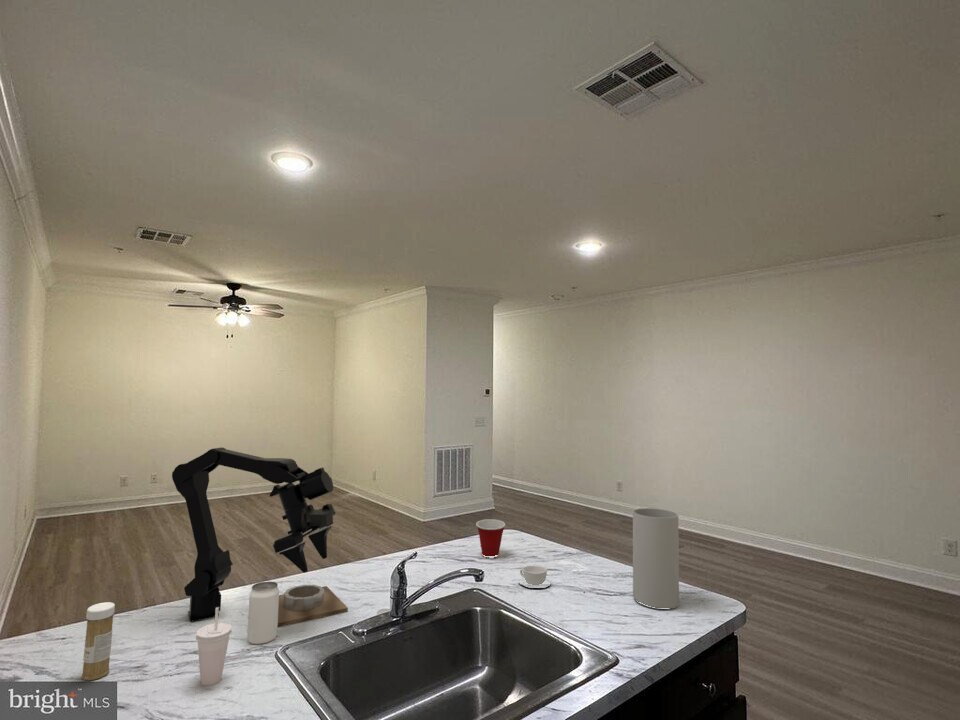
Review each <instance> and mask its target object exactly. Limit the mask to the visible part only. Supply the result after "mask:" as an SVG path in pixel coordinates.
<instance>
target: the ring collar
mask: <svg viewBox="0 0 960 720" xmlns="http://www.w3.org/2000/svg"><path fill="white" fill-rule="evenodd" d="M322 587H323V586H321V585H317V584H301V585H297V586H292V587H290V588H288V589H286V590H285V592H284V593H283V594H284V600H283V606H284V607H285V609H288V610H292V611H305V610H310V609H314V608H316V607H318V606H320V605H322V603H323V601H324V589H323V588H322Z"/></svg>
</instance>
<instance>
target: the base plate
mask: <svg viewBox="0 0 960 720" xmlns="http://www.w3.org/2000/svg"><path fill="white" fill-rule="evenodd" d="M321 587H322V588H323V589H324V601H323V603H322V605H320V606H318V607H316V608H314V609H310V610H305V611H292V610H288V609H285V607H284V606H283V600H284V593H283V594H279V607H278V626H277V627H278V628H281V627H286V626H291V625H295V624H299V623H300V624H301V623H304V622H307V621H312V620H317V619H321V618H322V619H323V618H326V617H330V616H333V615H339V614H342V613H347V612H349V611H348V610H349V609H348V606H347V605H346V604H345V603H344V602H343V601H342V600H341V599H340V598H339V597H338V596H337V594H335V593H334V592H333V591H332V590H331V589H330V588H329V587H328V586H327V585H326V586H321Z"/></svg>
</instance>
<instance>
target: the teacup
mask: <svg viewBox="0 0 960 720" xmlns="http://www.w3.org/2000/svg"><path fill="white" fill-rule="evenodd" d="M547 573H548V569H547V568H546V567H544V566H541V565H535V564H533V565H531V564H530V565H526V566H523V568H520V571H519V575H520V576H521V577H522V578H525V580H526V582H527V583H528V584H532V585H539V584H542V583H543V582H544V581H545V580H547V579H546V578H547Z"/></svg>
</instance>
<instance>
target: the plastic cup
mask: <svg viewBox="0 0 960 720" xmlns="http://www.w3.org/2000/svg"><path fill="white" fill-rule="evenodd" d="M475 525H476V527H477V531H478V535H479V537H478V538H479V542H480V543H479V544H480V548H481V550H480V551H481V555H482V554H483V555H485V556H495V555H498V554H499V555H500V550H501V549H500V548H501V543H502V538H503V533H504V529H505V526H506V523H505V522H504V521H503V520H499V519H494V518H493V519H492V518H491V519H490V518H487V519H481V520H478V521H477V522H476V523H475ZM499 555H498V556H499Z"/></svg>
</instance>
